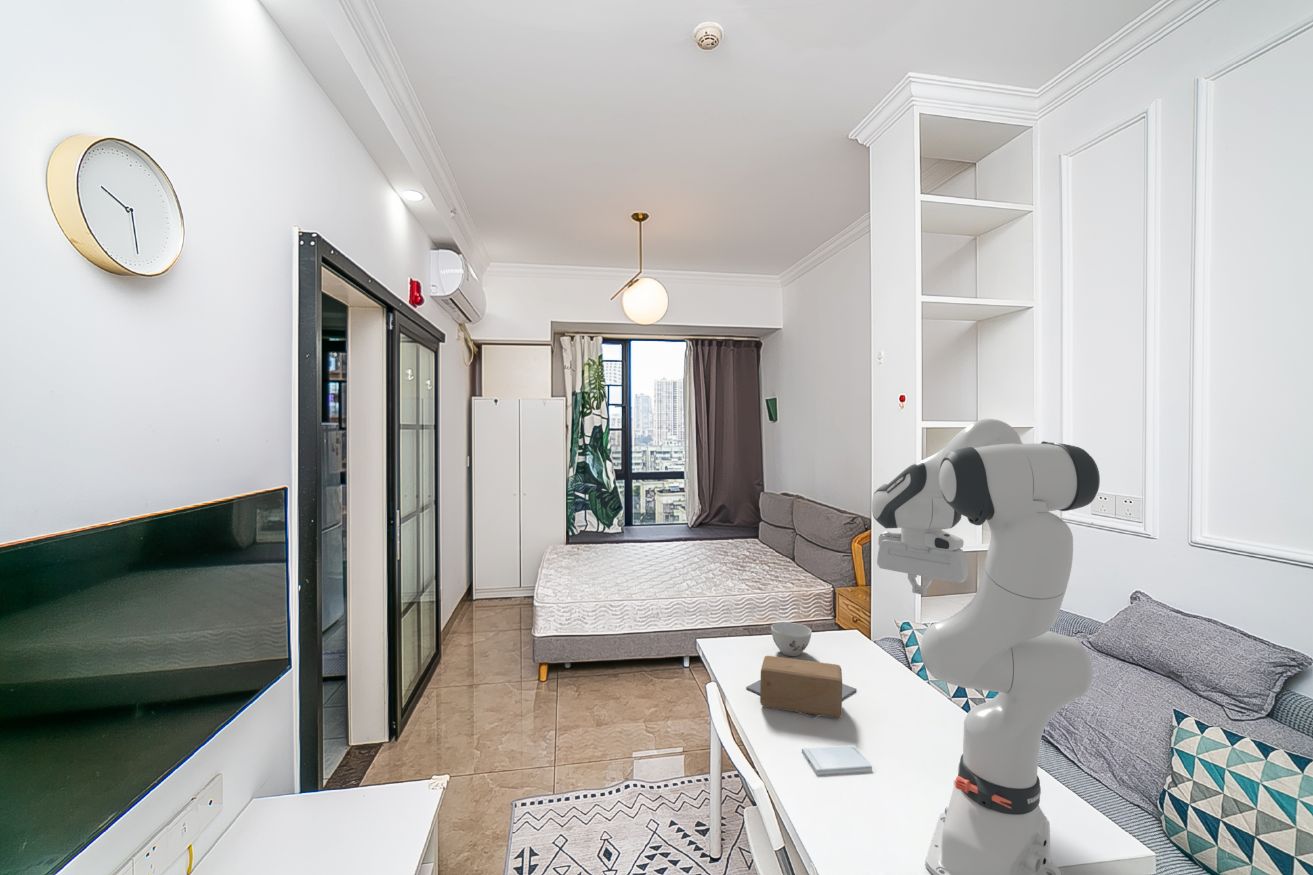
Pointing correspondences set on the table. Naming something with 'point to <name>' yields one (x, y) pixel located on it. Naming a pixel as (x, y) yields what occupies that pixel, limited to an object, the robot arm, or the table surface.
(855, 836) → the table surface
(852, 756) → the hard drive
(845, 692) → the grey flat square slab
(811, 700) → the wooden block
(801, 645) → the teacup
